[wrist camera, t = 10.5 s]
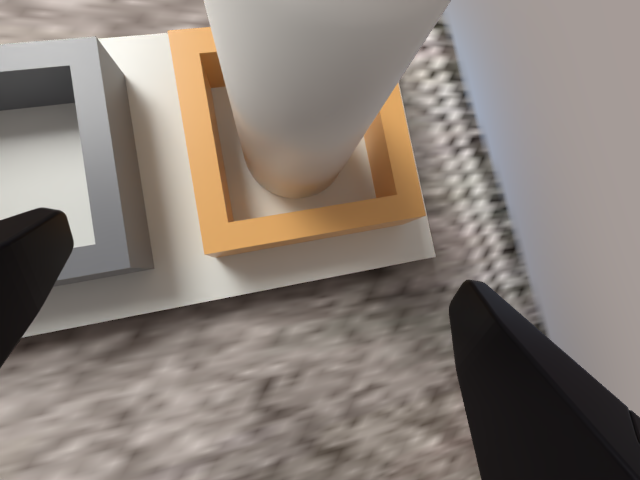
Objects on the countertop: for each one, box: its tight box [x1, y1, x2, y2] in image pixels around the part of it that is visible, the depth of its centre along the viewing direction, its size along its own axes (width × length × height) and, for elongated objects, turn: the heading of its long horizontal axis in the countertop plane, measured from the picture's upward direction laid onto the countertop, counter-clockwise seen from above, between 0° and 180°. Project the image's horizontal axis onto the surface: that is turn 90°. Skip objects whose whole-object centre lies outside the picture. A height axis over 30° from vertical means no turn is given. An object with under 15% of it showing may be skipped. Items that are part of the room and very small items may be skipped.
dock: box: [0, 27, 436, 338], centre depth 14 cm, size 12×22×4 cm, turn 101°
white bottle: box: [204, 0, 451, 198], centre depth 10 cm, size 5×5×12 cm
